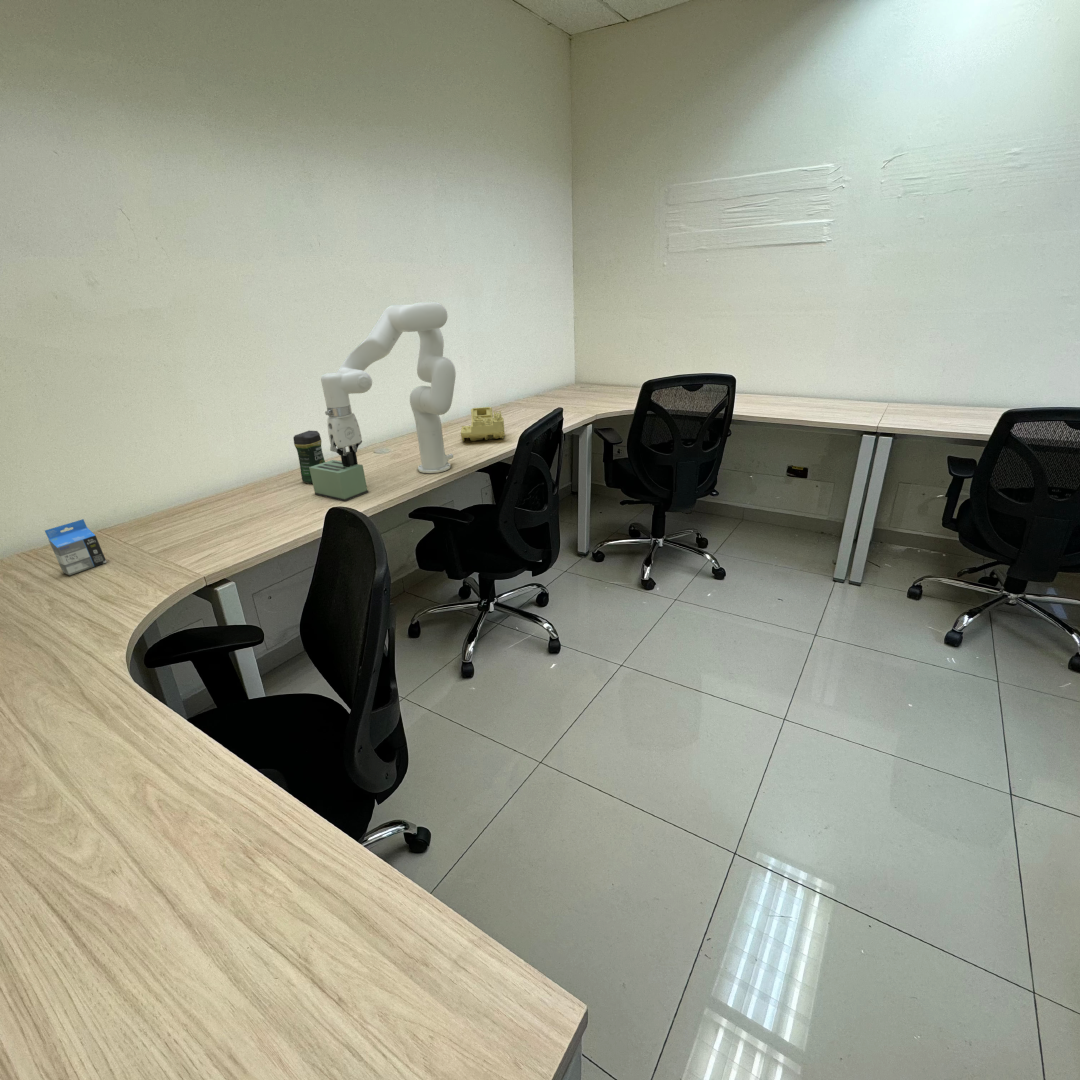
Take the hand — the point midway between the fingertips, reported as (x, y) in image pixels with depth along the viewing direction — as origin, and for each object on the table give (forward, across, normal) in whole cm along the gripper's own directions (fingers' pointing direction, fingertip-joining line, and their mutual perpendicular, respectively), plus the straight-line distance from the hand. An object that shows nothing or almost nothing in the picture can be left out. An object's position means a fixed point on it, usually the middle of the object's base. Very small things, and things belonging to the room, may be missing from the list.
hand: (350, 464), depth 190 cm
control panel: (+10, +79, +5) cm, 80 cm away
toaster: (+10, -3, +4) cm, 11 cm away
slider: (0, 0, 0) cm, 0 cm away
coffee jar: (+10, +3, +26) cm, 28 cm away
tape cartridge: (+10, -75, +20) cm, 78 cm away
